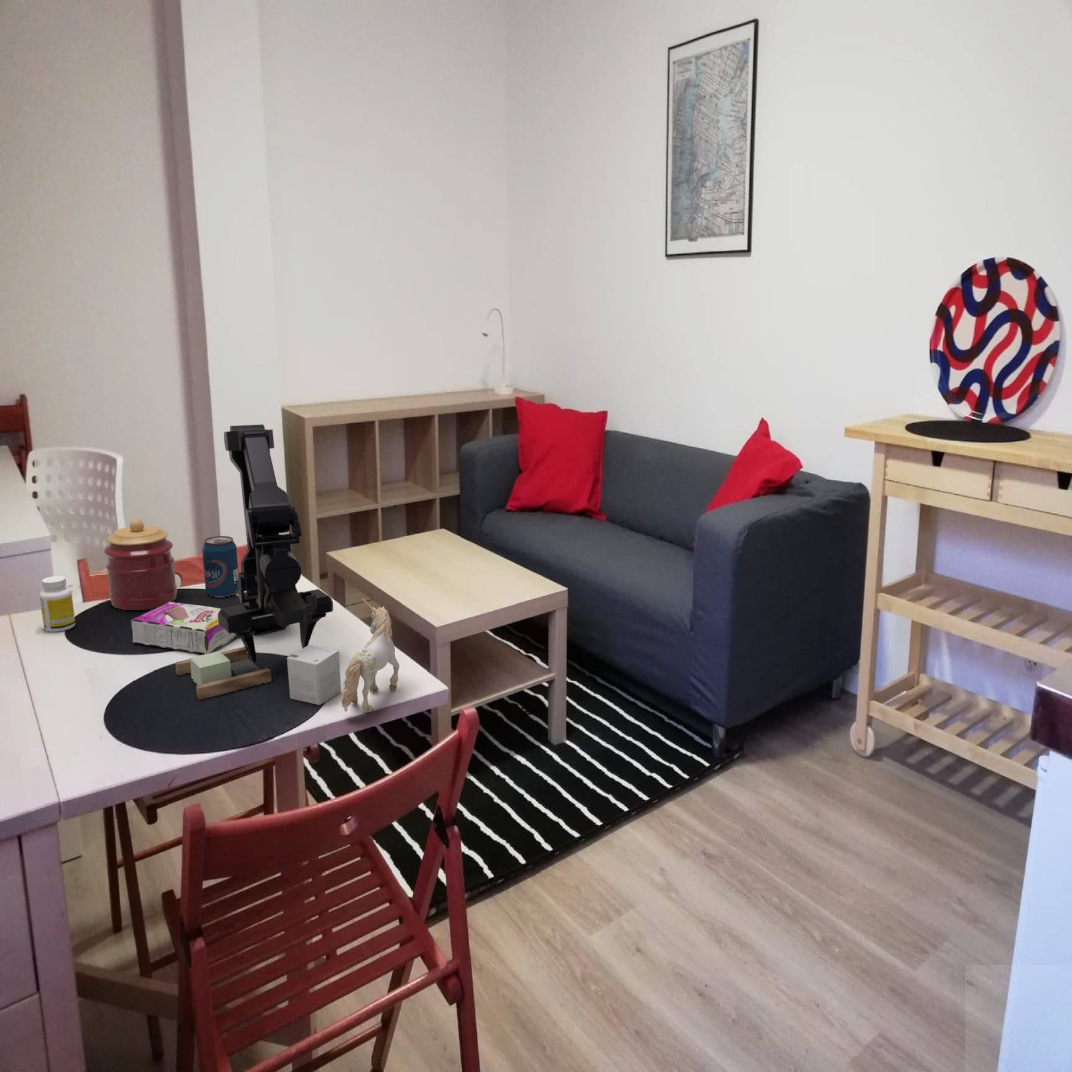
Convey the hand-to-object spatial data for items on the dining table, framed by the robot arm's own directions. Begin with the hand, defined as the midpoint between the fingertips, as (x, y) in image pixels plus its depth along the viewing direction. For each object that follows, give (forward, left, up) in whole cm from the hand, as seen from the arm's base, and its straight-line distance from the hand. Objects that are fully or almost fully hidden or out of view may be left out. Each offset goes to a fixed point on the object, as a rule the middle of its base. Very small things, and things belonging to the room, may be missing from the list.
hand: (279, 655), depth 157 cm
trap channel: (+10, 0, -2) cm, 10 cm away
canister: (+11, -46, -2) cm, 47 cm away
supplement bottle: (+28, -40, -2) cm, 49 cm away
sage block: (+12, 0, -2) cm, 12 cm away
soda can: (-4, -42, -2) cm, 42 cm away
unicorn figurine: (-6, +19, -2) cm, 20 cm away
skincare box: (0, +15, -2) cm, 15 cm away
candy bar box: (+15, -27, +1) cm, 31 cm away
